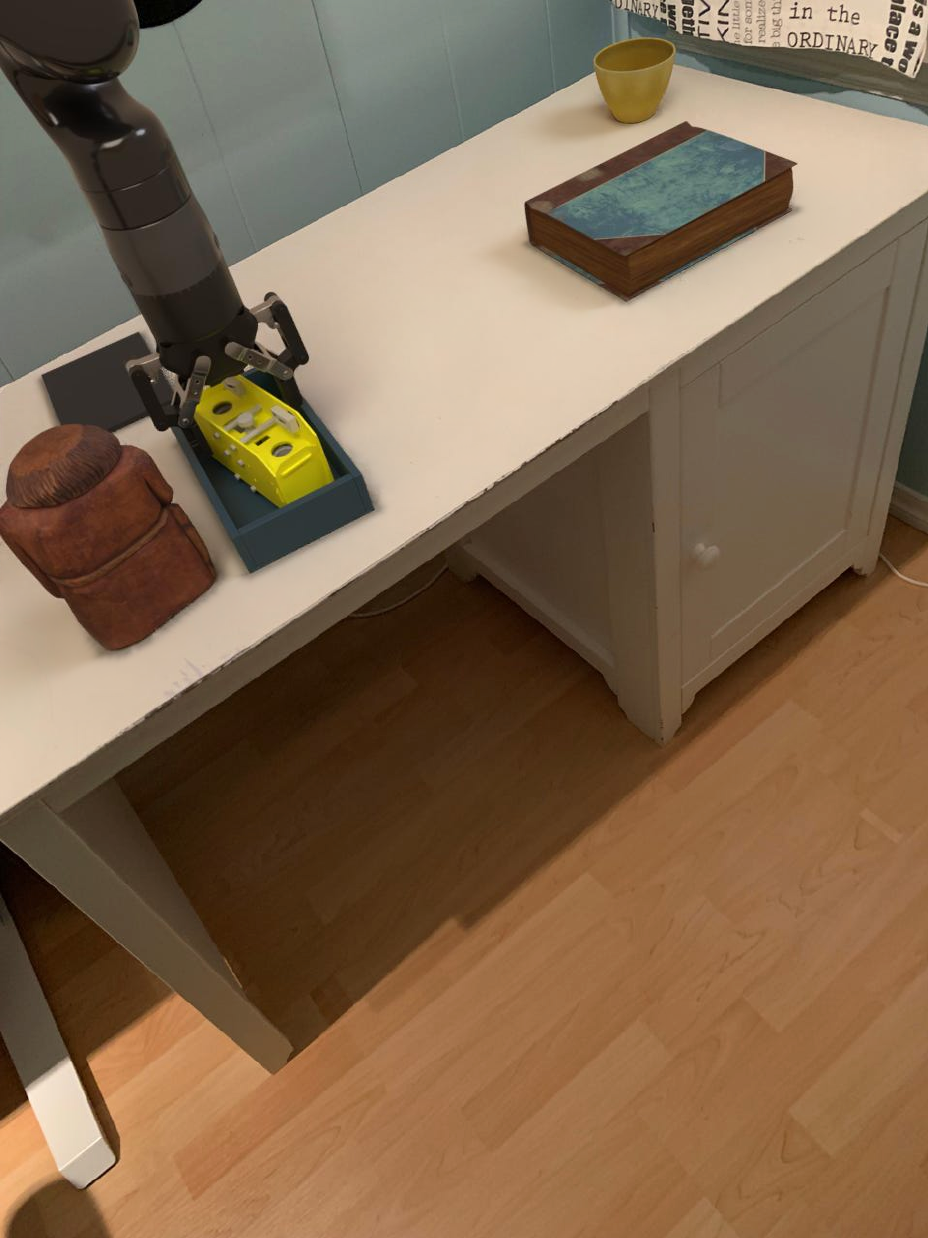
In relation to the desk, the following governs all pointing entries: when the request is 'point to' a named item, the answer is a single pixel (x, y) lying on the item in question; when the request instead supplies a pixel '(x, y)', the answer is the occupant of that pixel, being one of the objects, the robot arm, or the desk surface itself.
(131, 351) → the mat
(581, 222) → the book
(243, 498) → the bin
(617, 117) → the flower pot
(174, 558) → the wooden figurine
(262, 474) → the yellow toy chassis
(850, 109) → the desk surface
